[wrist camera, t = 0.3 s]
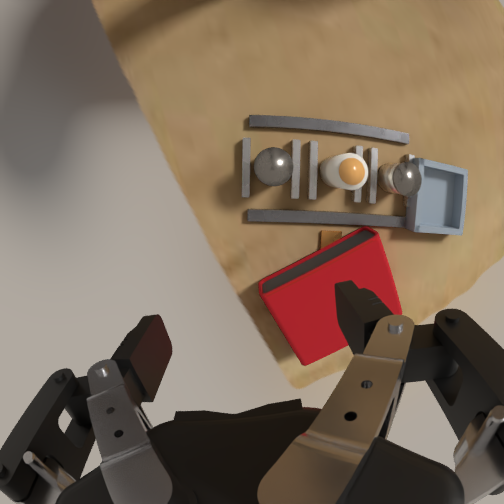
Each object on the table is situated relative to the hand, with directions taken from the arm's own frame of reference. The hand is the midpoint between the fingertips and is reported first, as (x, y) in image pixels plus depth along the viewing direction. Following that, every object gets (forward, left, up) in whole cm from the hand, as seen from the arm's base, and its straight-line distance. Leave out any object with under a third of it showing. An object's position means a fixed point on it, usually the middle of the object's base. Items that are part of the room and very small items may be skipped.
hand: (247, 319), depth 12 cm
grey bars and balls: (-5, +12, -27) cm, 30 cm away
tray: (-5, +30, -27) cm, 41 cm away
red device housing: (+11, +12, -27) cm, 32 cm away
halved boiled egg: (-7, +12, -27) cm, 31 cm away
